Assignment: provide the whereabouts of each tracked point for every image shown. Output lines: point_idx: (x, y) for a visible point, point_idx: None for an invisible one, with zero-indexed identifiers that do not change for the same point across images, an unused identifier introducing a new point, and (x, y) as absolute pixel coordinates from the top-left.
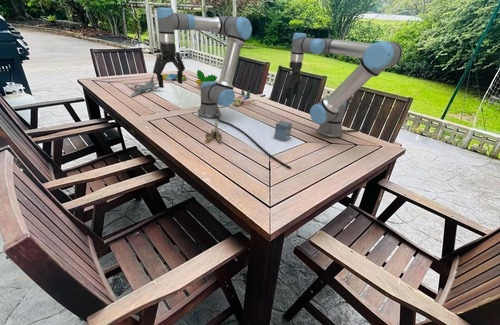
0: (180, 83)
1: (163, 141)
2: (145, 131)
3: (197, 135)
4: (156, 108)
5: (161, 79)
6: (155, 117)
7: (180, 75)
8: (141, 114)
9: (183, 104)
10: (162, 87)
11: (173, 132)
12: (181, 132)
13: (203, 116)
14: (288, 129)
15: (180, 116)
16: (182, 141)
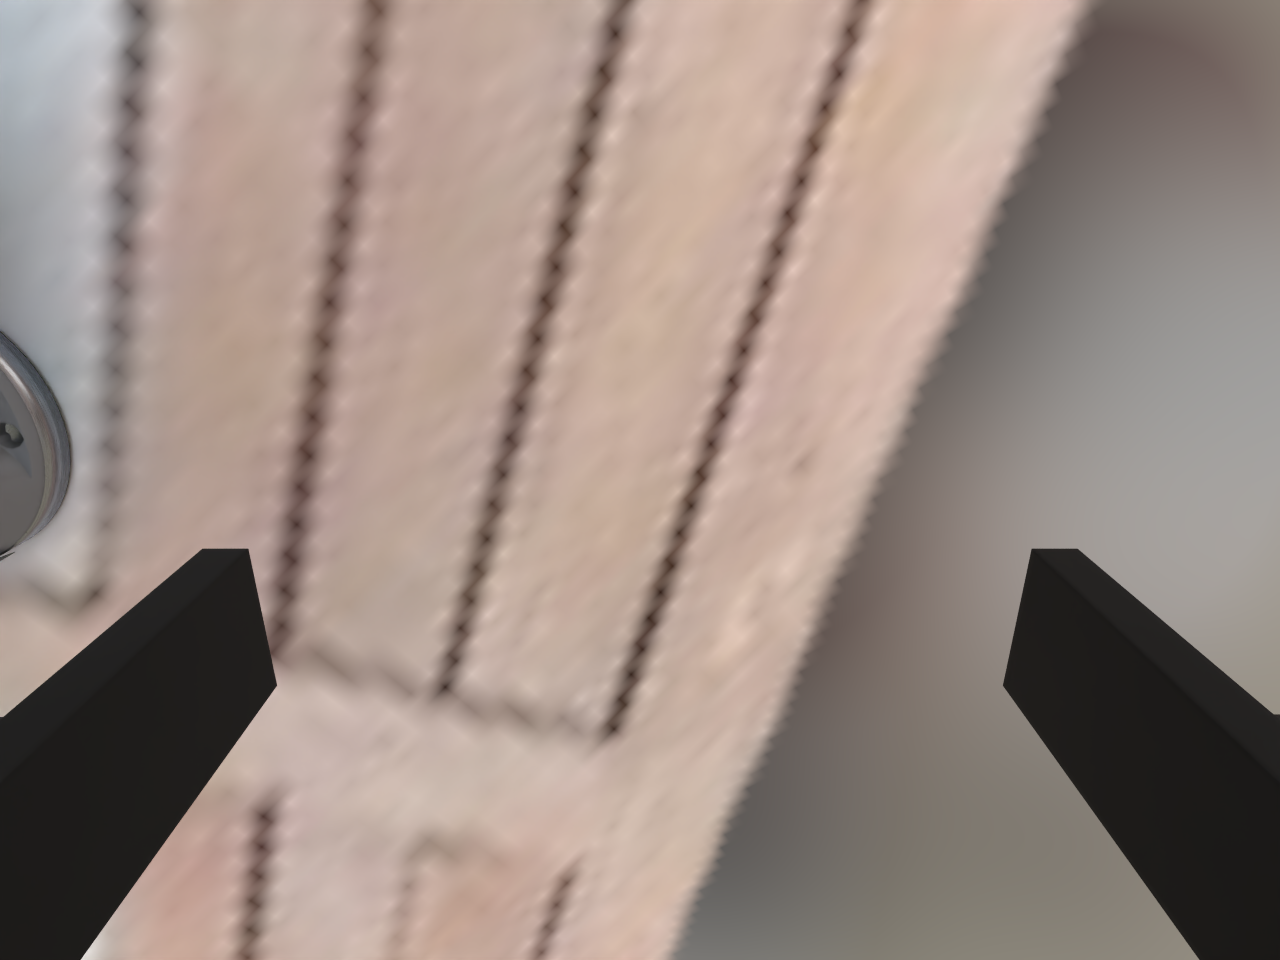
0: (256, 588)
1: (906, 231)
2: (815, 567)
3: (525, 30)
4: (323, 923)
5: (1271, 734)
6: (492, 764)
7: (61, 757)
8: (535, 893)
9: None
10: (1082, 556)
11: (653, 337)
12: (593, 266)
13: (50, 413)
14: None
15: (271, 622)
16: (782, 48)
